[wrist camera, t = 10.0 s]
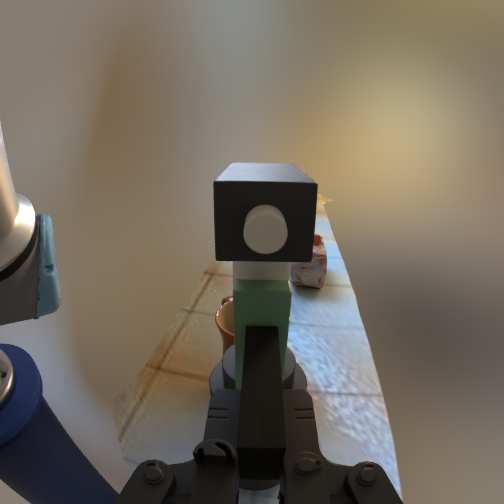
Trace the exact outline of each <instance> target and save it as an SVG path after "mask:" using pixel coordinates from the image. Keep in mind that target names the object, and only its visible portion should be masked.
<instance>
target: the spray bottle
mask: <svg viewBox="0 0 504 504" xmlns="http://www.w3.org/2000/svg"><path fill="white" fill-rule="evenodd" d="M213 185H214V186H213V187H214V226H215V251H216V252H215V255H216V260H217V261H233V288H234V282H235V279H248V280H289V281H290V270H291V262H312V255H313V244H314V232H315V219H316V205H317V189H318V184H317V183H316V182H315V181H314V180H312V179H311V178H310V177H309V176H308V175H307V174H306V173H304V172H303V171H302V170H301V169H299V168H298V167H297V166H296V165H294V164H278V163H232V164H231V165H230V166H229V167H228V168H227V169H226V170H225V171H224V172H223V173H222V174H221V175H220V176H219V177H218V178H217V179H216V180H215V181H214V183H213ZM282 386H283V389H306V388H307V380H306V376H305V374H304V372H303V370H302V368H301V367H300V366H299V365H298V364H297V363H296V360H295V357H294V354H293V353H292V351H291V350H290V349H289V348H288V347H287V349H286V359H285V368H284V377H283V385H282ZM217 388H224V389H236V377H235V349H234V345H232V346H231V347H229V348H228V349H227V350H226V352H225V353H224V355H223V358H222V361H221V362H219V363H218V364H217V366H216V367H215V368H214V370H213V371H212V374H211V376H210V392H211V396H212V395H213V393H214V392H215V391H216V389H217ZM279 482H280V479H279V480H242V479H239V487H240V488H242V489H246V490H254V491H256V490H264V489H268V488H271V487H273V486H275V485H276V484H278V483H279Z"/></svg>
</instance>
